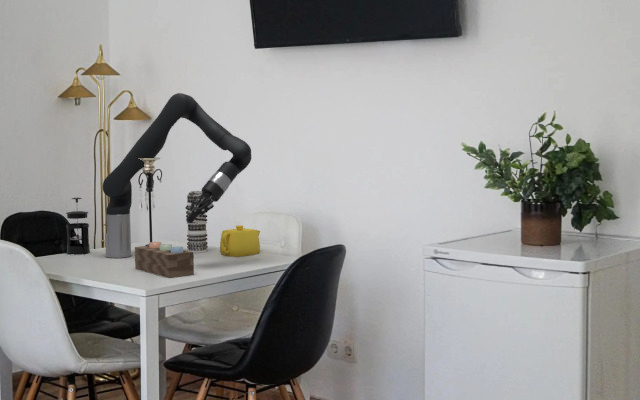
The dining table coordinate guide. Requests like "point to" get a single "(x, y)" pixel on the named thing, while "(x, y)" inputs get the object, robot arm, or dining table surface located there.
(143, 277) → the dining table surface
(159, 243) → the terracotta button
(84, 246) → the french press
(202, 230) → the decorative candle
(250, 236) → the teapot
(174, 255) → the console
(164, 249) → the sage button
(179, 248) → the blue button
